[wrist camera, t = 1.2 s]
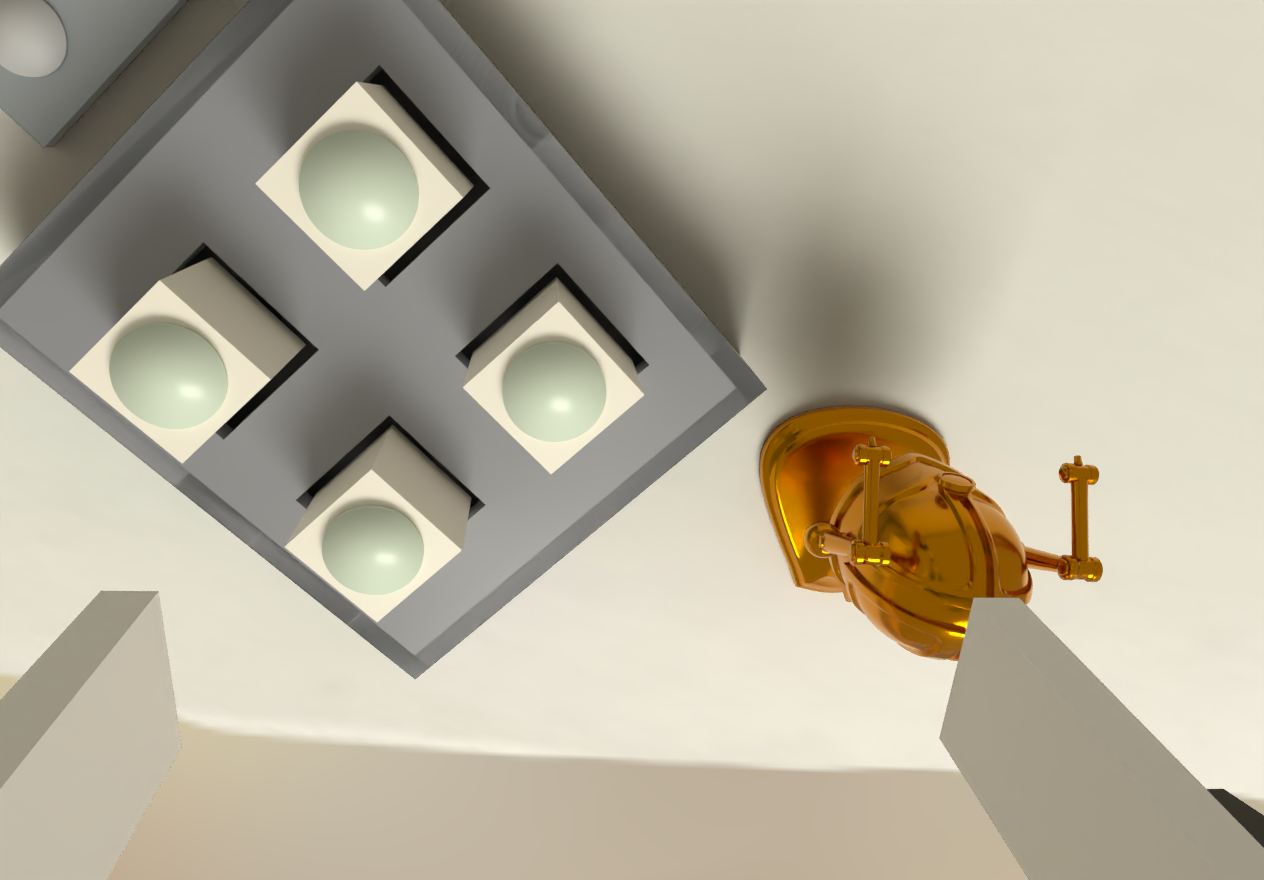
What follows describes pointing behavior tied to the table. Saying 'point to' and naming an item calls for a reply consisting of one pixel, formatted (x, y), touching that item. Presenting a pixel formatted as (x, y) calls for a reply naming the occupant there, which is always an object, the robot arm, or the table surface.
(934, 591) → the figurine
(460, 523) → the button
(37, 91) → the card
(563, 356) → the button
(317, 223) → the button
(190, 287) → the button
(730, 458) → the table surface
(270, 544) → the button box
